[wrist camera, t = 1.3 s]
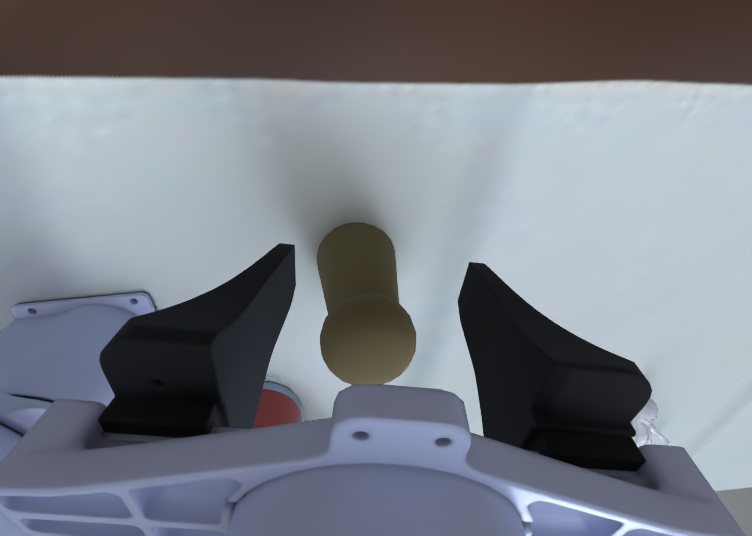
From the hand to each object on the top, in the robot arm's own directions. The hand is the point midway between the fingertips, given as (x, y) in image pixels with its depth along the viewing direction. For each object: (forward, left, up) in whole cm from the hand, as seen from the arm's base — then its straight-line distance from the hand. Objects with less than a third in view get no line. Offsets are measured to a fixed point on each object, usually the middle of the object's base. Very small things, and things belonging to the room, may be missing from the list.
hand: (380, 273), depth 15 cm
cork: (-1, -6, -12) cm, 13 cm away
